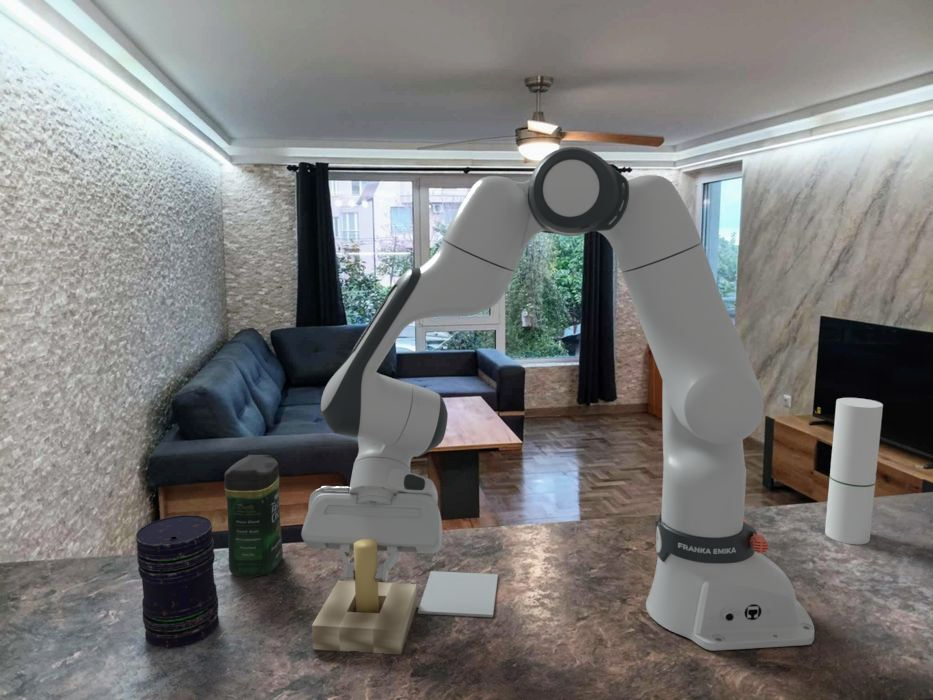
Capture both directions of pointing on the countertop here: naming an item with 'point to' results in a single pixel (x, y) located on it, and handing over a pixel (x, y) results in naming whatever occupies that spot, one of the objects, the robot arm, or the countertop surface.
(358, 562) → the peg
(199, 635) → the dark blue cylinder
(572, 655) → the countertop surface
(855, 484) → the cylindrical container
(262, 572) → the coffee jar
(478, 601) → the mat
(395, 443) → the robot arm
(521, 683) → the countertop surface
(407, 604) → the hole block
